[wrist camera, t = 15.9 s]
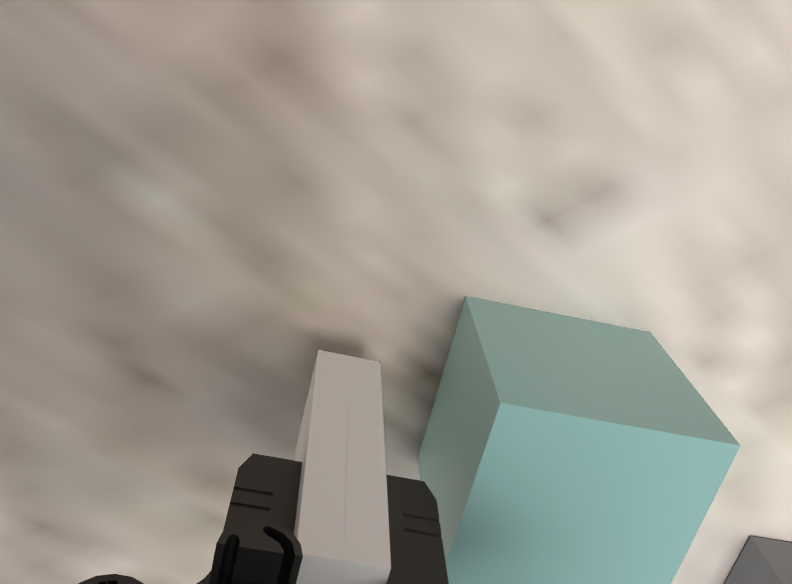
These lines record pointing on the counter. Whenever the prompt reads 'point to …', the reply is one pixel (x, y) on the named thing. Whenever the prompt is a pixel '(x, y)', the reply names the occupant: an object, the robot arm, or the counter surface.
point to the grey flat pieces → (763, 563)
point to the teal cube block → (567, 452)
